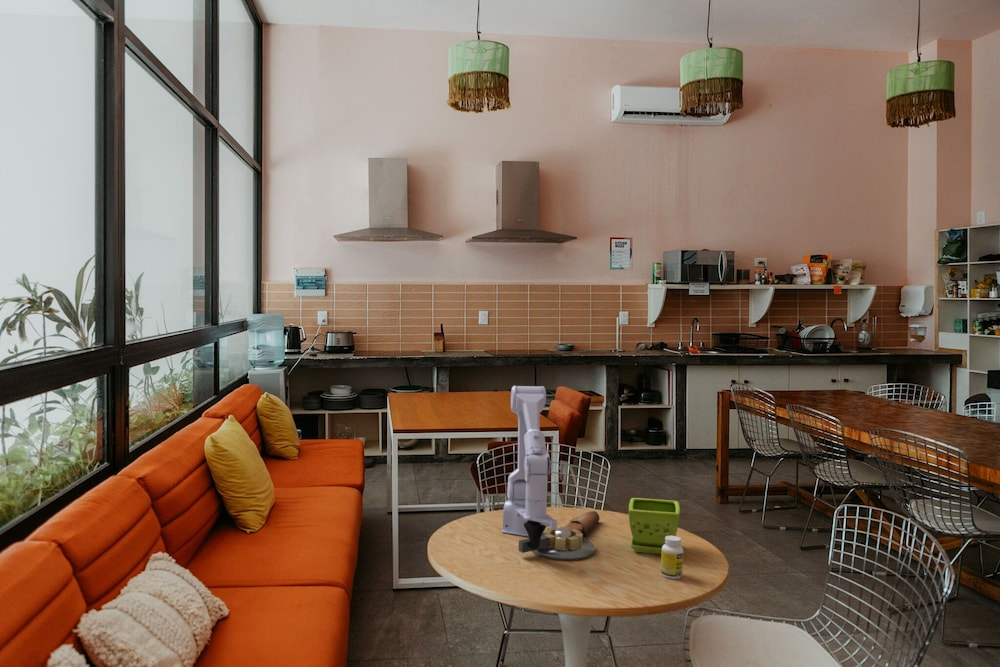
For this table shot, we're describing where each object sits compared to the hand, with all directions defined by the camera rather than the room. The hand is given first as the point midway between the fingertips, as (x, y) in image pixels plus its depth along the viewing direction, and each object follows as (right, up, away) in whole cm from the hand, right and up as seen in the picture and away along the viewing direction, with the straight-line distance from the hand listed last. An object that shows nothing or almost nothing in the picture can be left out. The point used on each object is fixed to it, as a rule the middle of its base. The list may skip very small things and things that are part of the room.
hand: (534, 548), depth 196 cm
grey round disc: (+8, -2, +8) cm, 11 cm away
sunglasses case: (+15, -2, +26) cm, 30 cm away
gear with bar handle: (+4, -1, +5) cm, 7 cm away
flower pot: (+34, -3, +10) cm, 35 cm away
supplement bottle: (+35, -4, -10) cm, 36 cm away
